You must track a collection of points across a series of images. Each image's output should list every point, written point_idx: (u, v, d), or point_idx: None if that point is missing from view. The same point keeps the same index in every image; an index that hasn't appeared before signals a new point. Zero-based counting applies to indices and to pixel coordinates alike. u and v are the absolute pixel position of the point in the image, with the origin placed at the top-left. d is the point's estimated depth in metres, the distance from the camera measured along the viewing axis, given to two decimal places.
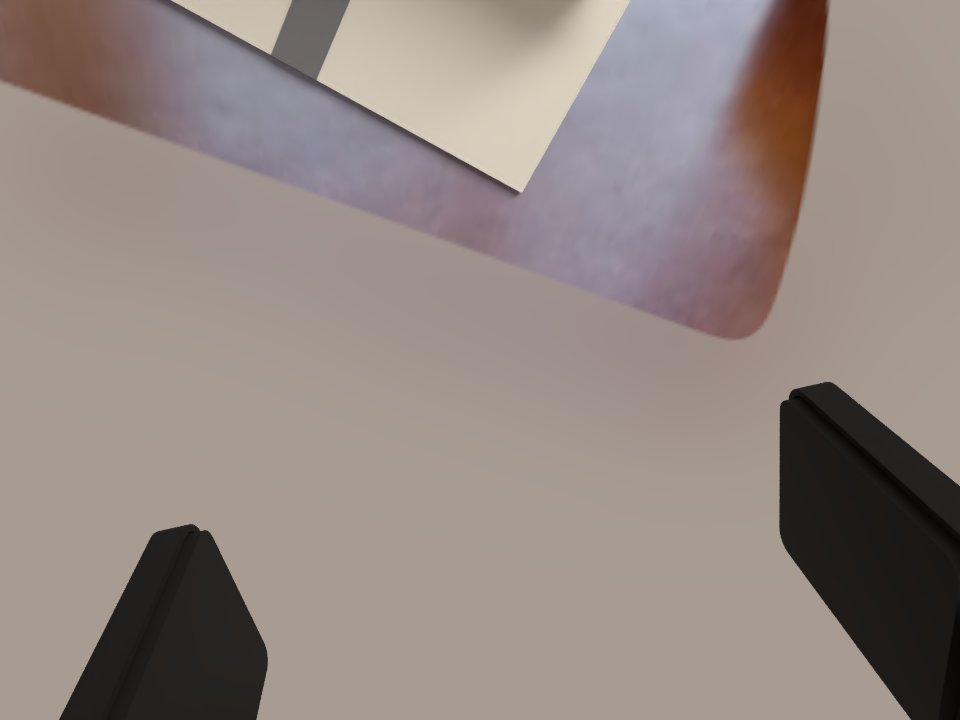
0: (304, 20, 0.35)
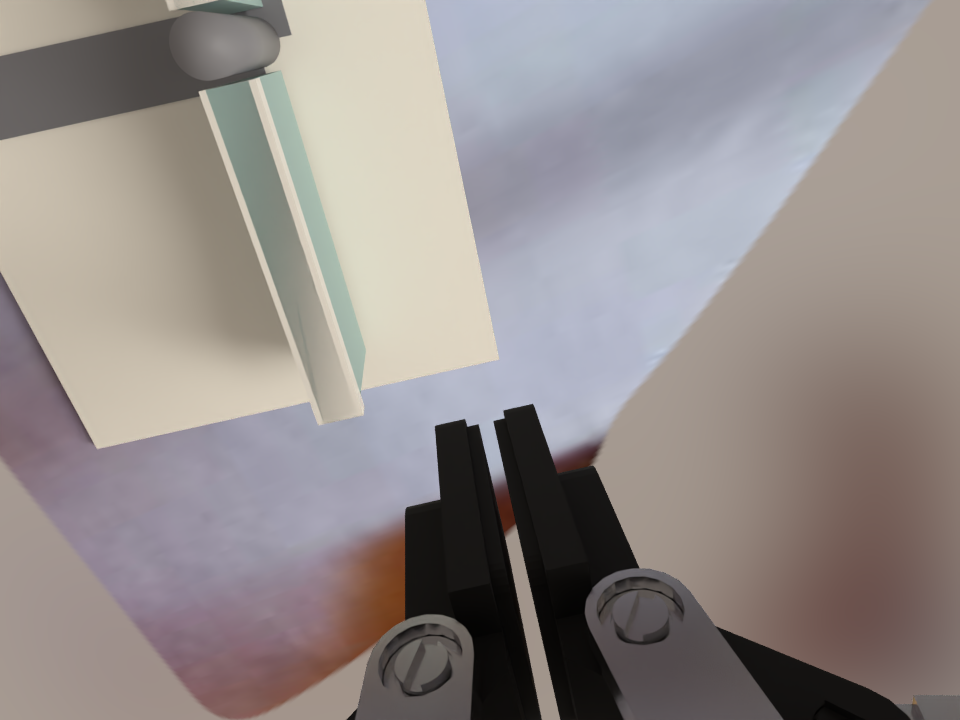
0: None
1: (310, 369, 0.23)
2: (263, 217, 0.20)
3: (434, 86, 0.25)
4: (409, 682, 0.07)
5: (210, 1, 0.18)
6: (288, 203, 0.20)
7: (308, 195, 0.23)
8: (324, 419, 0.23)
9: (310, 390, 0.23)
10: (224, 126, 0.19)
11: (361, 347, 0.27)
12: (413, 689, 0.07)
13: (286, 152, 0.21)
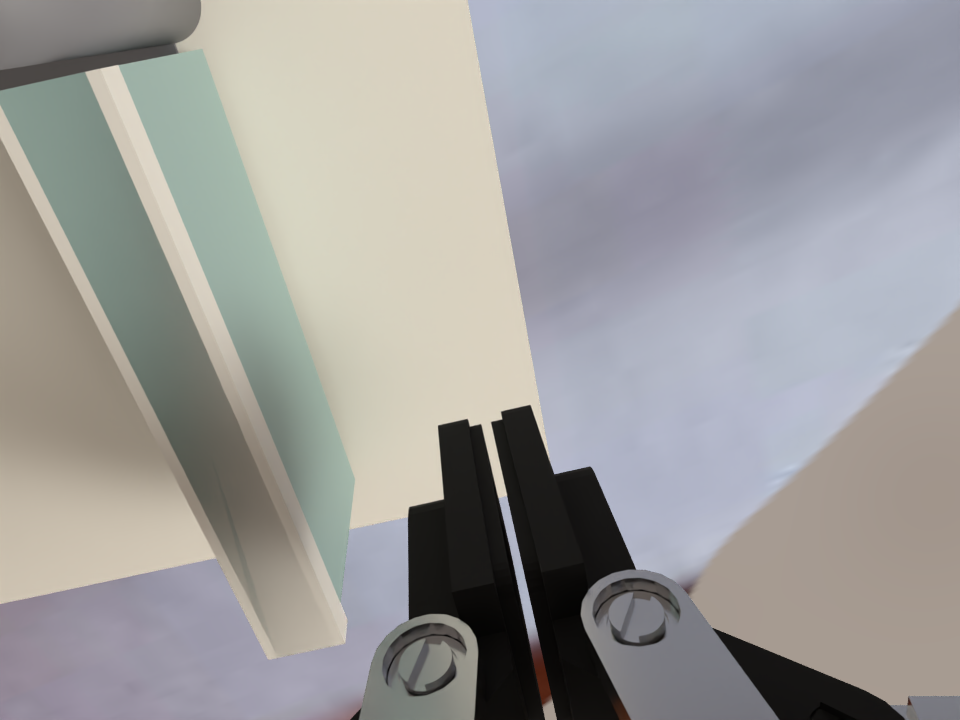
0: None
1: (250, 581, 0.13)
2: (143, 339, 0.10)
3: (467, 77, 0.15)
4: (413, 681, 0.07)
5: None
6: (190, 313, 0.10)
7: (250, 267, 0.14)
8: (278, 651, 0.14)
9: (252, 612, 0.13)
10: (45, 168, 0.09)
11: (347, 484, 0.18)
12: (417, 688, 0.07)
13: (198, 204, 0.11)
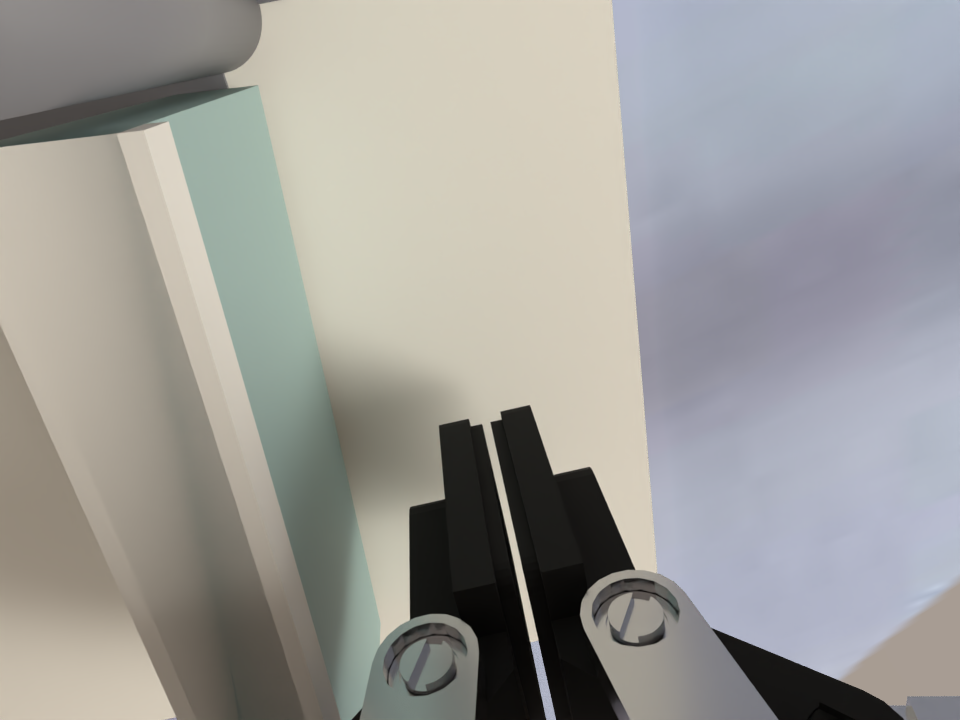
0: None
1: None
2: (156, 534, 0.07)
3: (603, 122, 0.11)
4: (414, 681, 0.07)
5: None
6: (236, 502, 0.07)
7: (297, 383, 0.10)
8: None
9: None
10: (27, 279, 0.05)
11: (375, 637, 0.14)
12: (418, 688, 0.07)
13: (248, 314, 0.08)
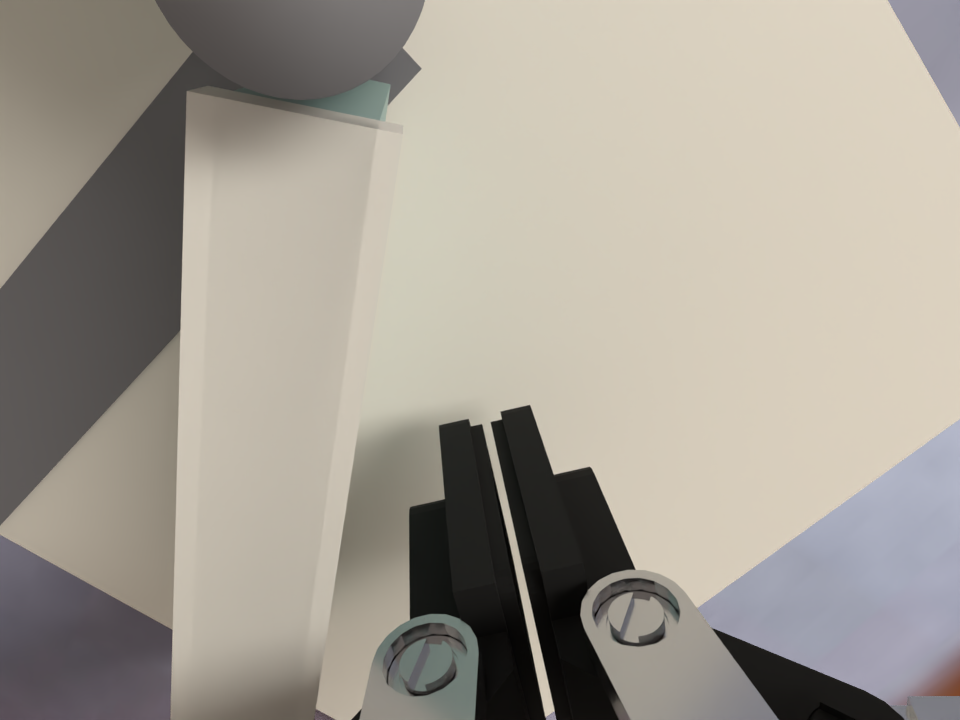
0: None
1: None
2: (237, 503, 0.07)
3: None
4: (414, 681, 0.07)
5: None
6: (328, 492, 0.07)
7: None
8: None
9: None
10: (230, 233, 0.05)
11: None
12: (418, 688, 0.07)
13: None
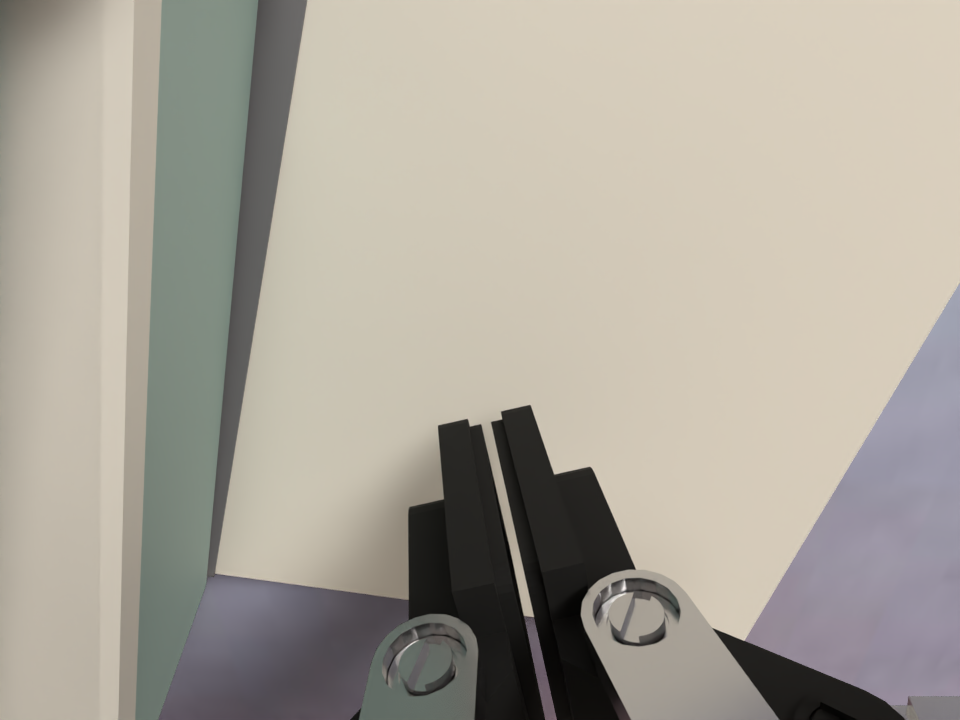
0: None
1: None
2: None
3: None
4: (413, 682, 0.07)
5: None
6: (102, 399, 0.06)
7: (201, 308, 0.09)
8: None
9: None
10: None
11: (196, 598, 0.13)
12: (417, 689, 0.07)
13: (176, 215, 0.07)
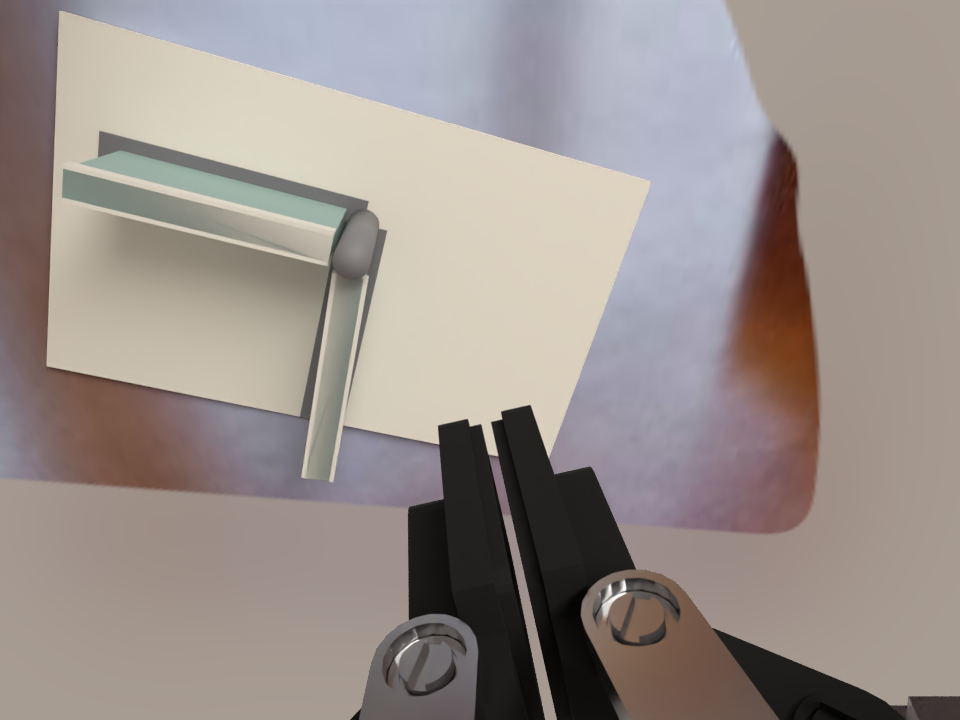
0: None
1: (314, 443, 0.34)
2: (333, 349, 0.32)
3: (439, 127, 0.34)
4: (413, 682, 0.07)
5: (332, 242, 0.30)
6: (351, 348, 0.32)
7: None
8: (307, 475, 0.34)
9: (308, 455, 0.34)
10: (337, 295, 0.31)
11: None
12: (417, 689, 0.07)
13: None
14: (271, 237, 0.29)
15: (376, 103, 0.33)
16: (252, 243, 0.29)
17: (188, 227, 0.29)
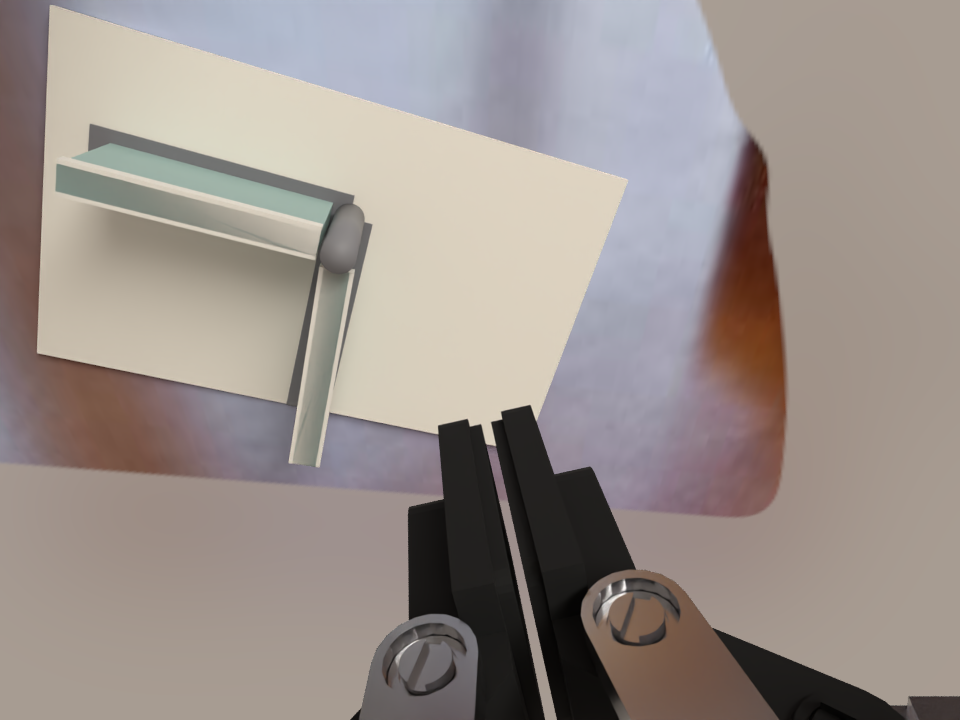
0: None
1: (301, 430, 0.35)
2: (319, 340, 0.33)
3: (424, 124, 0.35)
4: (413, 681, 0.07)
5: (319, 237, 0.31)
6: (338, 339, 0.33)
7: None
8: (294, 461, 0.36)
9: (295, 441, 0.35)
10: (323, 288, 0.32)
11: None
12: (417, 689, 0.07)
13: None
14: (260, 232, 0.30)
15: (362, 100, 0.34)
16: (241, 237, 0.30)
17: (179, 221, 0.30)
